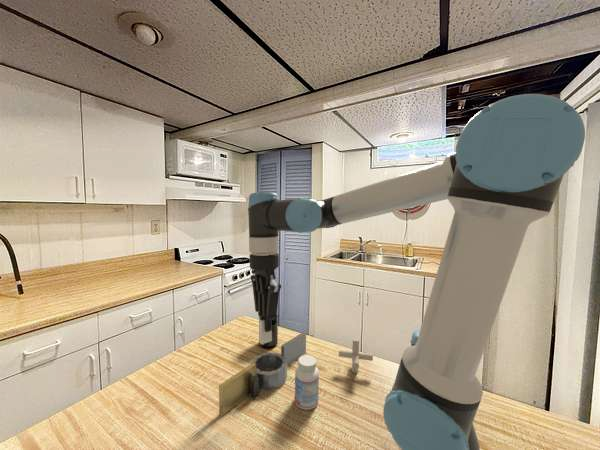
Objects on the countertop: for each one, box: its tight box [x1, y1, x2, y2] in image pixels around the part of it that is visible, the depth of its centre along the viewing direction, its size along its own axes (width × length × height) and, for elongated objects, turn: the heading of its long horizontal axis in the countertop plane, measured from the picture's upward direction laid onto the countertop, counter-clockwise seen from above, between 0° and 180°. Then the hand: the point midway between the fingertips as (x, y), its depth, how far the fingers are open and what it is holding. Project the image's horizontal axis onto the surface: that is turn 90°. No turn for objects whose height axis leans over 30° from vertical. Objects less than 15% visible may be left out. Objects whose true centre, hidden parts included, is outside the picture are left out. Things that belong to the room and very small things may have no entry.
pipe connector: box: [338, 337, 374, 374], centre depth 76 cm, size 10×10×10 cm
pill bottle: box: [294, 354, 320, 411], centre depth 64 cm, size 6×6×11 cm
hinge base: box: [249, 331, 307, 400], centre depth 76 cm, size 10×25×7 cm, turn 140°
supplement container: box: [258, 314, 279, 350], centre depth 90 cm, size 7×7×10 cm
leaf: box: [218, 363, 256, 416], centre depth 64 cm, size 1×11×7 cm, turn 143°
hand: (266, 341), depth 66 cm, fingers closed
